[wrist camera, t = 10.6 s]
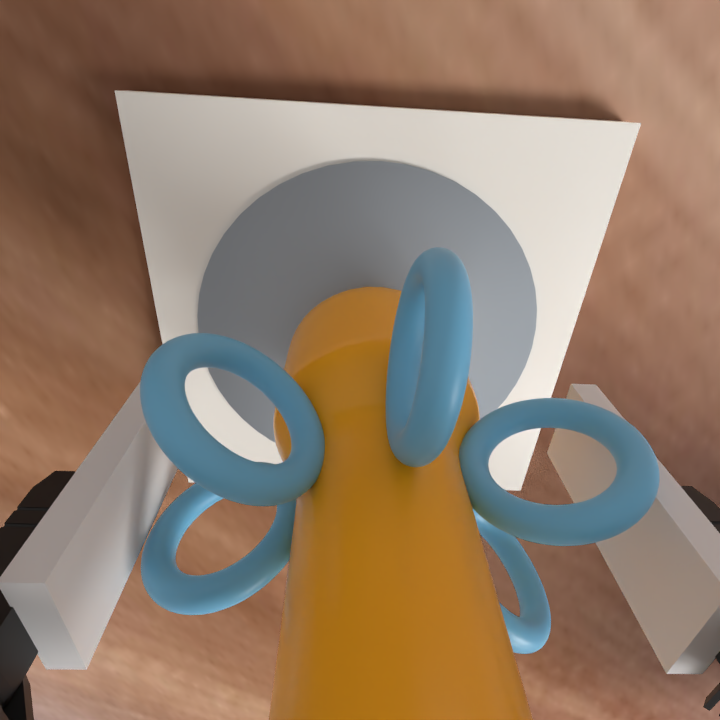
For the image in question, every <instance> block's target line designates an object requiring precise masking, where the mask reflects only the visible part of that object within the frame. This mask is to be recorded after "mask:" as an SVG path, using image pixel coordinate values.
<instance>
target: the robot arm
mask: <svg viewBox="0 0 720 720" xmlns="http://www.w3.org/2000/svg"><path fill="white" fill-rule="evenodd" d="M140 382H141V381H140ZM566 399H571V400H577V401H582V402H586V403H590V404H593V405H596V406H599V407H602V408H604V409H606V410H609V411H611V412H613V413H615V414H616V415H618V416H620V417H621V418H623V417H622V415H621V414H620V413H619V412H618V411H617V409H616V408H615V407H614V406H613V405H612V403H611V402H610V401H609V400H608V399H607V397H606V396H605V395H604V394H603V393H602V391H601V390H600V389H599V388H598V387H597V385H592V384H571V385H570V388H569V391H568V394H567V397H566ZM623 419H624V418H623ZM547 454H548V456H549V458H550V460H551V462H552V463H553V465H554V467H555V469H556V471H557V473H558V475H559V476H560V478H561V480H562V482H563V484H564V486H565V487H566V489H567V491H568V493H569V495H570V497H571V499H572V500H573V502H574V503H578V502H582V501H585V500H588V499H591V498H593V497H595V496H597V495H599V494H601V493H602V492H603V491H605V490H606V489H607V488H608V487H609V486H610V485H611V484H612V482H613V481H614V479H615V476H616V472H617V466H616V462H615V459H614V457H613V456H612V454H611V453H610V451H609V450H608V449H607V448H606V447H605V446H603V445H602V444H601V443H599V442H598V441H596V440H595V439H593V438H591V437H589V436H587V435H584V434H582V433H579V432H576V431H572V430H567V429H561V428H555V431H554V434H553V437H552V440H551V443H550V445H549V448H548V451H547ZM656 459H657V457H656ZM657 462H658V467H659V476H660V478H659V488H658V492H657V495H656V498H655V500H654V502H653V504H652V506H651V507H650V509H649V510H648V512H647V513H646V514H645V515H644V516H643V517H642V519H640V520H639V521H638V522H637V523H636V524H635V525H633V526H632V527H631V528H629V529H628V530H626V531H624V532H623V533H621V534H619V535H616V536H614V537H612V538H609V539H606V540H603V541H600V542H596V545H597V547H598V548H599V550H600V552H601V554H602V556H603V558H604V560H605V561H606V563H607V565H608V567H609V569H610V571H611V572H612V574H613V576H614V578H615V580H616V582H617V584H618V585H619V587H620V589H621V591H622V593H623V595H624V597H625V598H626V600H627V602H628V604H629V606H630V608H631V609H632V611H633V613H634V615H635V617H636V619H637V621H638V622H639V624H640V626H641V628H642V630H643V632H644V633H645V635H646V637H647V639H648V641H649V643H650V645H651V646H652V648H653V650H654V652H655V654H656V656H657V657H658V659H659V661H660V663H661V665H662V667H663V669H664V670H665V672H666V674H703V673H704V671H705V670H706V669H707V668H708V667H709V666H710V664H711V663H712V662H713V661H714V660H715V659H717V660H718V662H719V663H720V509H719V508H718V507H717V505H716V504H715V503H714V502H712V501H711V500H710V499H708V498H707V497H706V496H704V495H703V494H701V493H700V492H699V491H697V490H696V489H695V488H693V487H692V486H680V485H679V484H678V483H677V481H676V480H675V479H674V478H673V477H672V475H671V474H670V473H669V472H668V471H667V469H666V468H665V467H664V466H663V465H662V463H661V462H660V461H659V460H658V459H657ZM177 469H178V468H177V467H176V466H175V465H174V464H173V463H172V462H171V461H170V460H169V458H168V457H167V456H166V455H165V454H164V452H163V451H162V450H161V448H160V447H159V445H158V444H157V442H156V441H155V439H154V437H153V436H152V434H151V432H150V430H149V428H148V426H147V423H146V421H145V418H144V415H143V411H142V407H141V401H140V383H139V384H138V386H137V387H136V388H135V390H134V391H133V393H132V394H131V395H130V397H129V398H128V400H127V401H126V402H125V404H124V405H123V406H122V408H121V409H120V411H119V412H118V413H117V415H116V416H115V418H114V419H113V420H112V422H111V423H110V425H109V426H108V427H107V429H106V430H105V432H104V433H103V434H102V436H101V437H100V439H99V440H98V441H97V443H96V444H95V446H94V447H93V448H92V450H91V451H90V452H89V454H88V455H87V457H86V458H85V459H84V461H83V462H82V464H81V465H80V466H79V468H78V469H77V471H76V472H74V471H55V472H53V473H52V474H51V475H49V476H48V477H46V478H45V479H44V480H42V481H41V482H40V483H38V484H37V485H36V486H34V487H33V488H32V489H31V490H30V492H29V493H28V494H27V496H26V497H25V498H24V499H23V501H22V502H21V503H20V504H19V506H18V509H17V511H14V512H13V513H12V514H11V516H10V517H9V518H8V519H7V521H6V522H5V526H4V527H1V528H0V720H34V717H33V708H32V698H31V689H30V683H29V681H28V679H27V676H26V673H27V671H28V670H29V668H30V666H31V664H32V662H33V660H34V659H35V657H36V655H37V654H38V656H39V658H40V659H41V661H42V663H43V665H44V666H45V668H46V669H83V670H87V668H88V665H89V663H90V661H91V659H92V657H93V654H94V652H95V650H96V648H97V646H98V643H99V641H100V639H101V637H102V635H103V632H104V630H105V628H106V626H107V624H108V621H109V619H110V617H111V615H112V613H113V610H114V608H115V606H116V604H117V602H118V599H119V597H120V595H121V593H122V590H123V588H124V586H125V584H126V582H127V579H128V577H129V575H130V573H131V571H132V568H133V566H134V564H135V562H136V560H137V557H138V555H139V553H140V551H141V549H142V546H143V544H144V542H145V540H146V538H147V535H148V533H149V531H150V529H151V527H152V524H153V522H154V520H155V518H156V516H157V513H158V511H159V509H160V507H161V505H162V502H163V500H164V498H165V496H166V493H167V491H168V489H169V487H170V485H171V482H172V480H173V478H174V476H175V474H176V471H177ZM719 700H720V683H719V684H718V685H717V686H716V688H715V689H714V690H713V691H712V692H711V693H710V694H709V695H708V696H707V697H706V700H705V703H704V706H703V707H704V708H706V709H708V710H709V711H710V710H711V709H712V708H713V707H714V706H715V705H716V704H717V702H718V701H719ZM719 716H720V714H719Z"/></svg>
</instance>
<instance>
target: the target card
mask: <svg viewBox="0 0 720 720" xmlns="http://www.w3.org/2000/svg"><path fill="white" fill-rule="evenodd" d="M114 91H115V96H116V101H117V106H118V112H119V117H120V122H121V128H122V133H123V138H124V143H125V149H126V154H127V159H128V165H129V170H130V175H131V181H132V186H133V191H134V196H135V202H136V207H137V212H138V218H139V223H140V228H141V233H142V239H143V244H144V249H145V255H146V260H147V265H148V270H149V276H150V281H151V286H152V292H153V297H154V302H155V307H156V313H157V318H158V323H159V329H160V334H161V339H162V344H164V343H165V342H167V341H169V340H171V339H173V338H175V337H178V336H181V335H185V334H191V333H210V334H217V335H222V336H226V337H229V338H232V339H235V340H238V341H240V342H243V343H245V344H247V345H249V346H251V347H253V348H255V349H257V350H258V351H260V352H262V353H263V354H265V355H266V356H268V357H269V358H270V359H272V360H273V361H274V362H276V363H277V364H278V365H279V366H281V367H282V368H283V369H284V367H285V363H286V359H287V354H288V350H289V347H290V343H291V340H292V338H293V335H294V333H295V331H296V329H297V327H298V325H299V324H300V323H301V321H302V320H303V318H304V317H305V316H306V315H307V314H308V313H309V312H310V311H311V310H312V309H313V308H314V307H315V306H317V305H318V304H319V303H321V302H322V301H324V300H326V299H328V298H329V297H331V296H333V295H335V294H338V293H341V292H344V291H346V290H349V289H355V288H361V287H386V288H391V289H396V290H401V291H402V289H403V286H404V283H405V280H406V277H407V275H408V273H409V270H410V268H411V266H412V265H413V263H414V262H415V260H416V259H417V258H418V256H419V255H421V254H422V253H423V252H424V251H426V250H428V249H431V248H435V247H442V248H446V249H449V250H451V251H452V252H454V253H455V254H456V255H457V256H458V257H459V258H460V259H461V261H462V262H463V264H464V266H465V268H466V271H467V274H468V277H469V281H470V286H471V293H472V302H473V339H472V351H471V360H470V367H469V374H468V377H469V379H470V382H471V384H472V387H473V389H474V392H475V395H476V398H477V402H478V406H479V412H480V419H481V418H483V417H484V416H485V415H487V414H489V413H490V412H492V411H494V410H496V409H498V408H500V407H503V406H505V405H508V404H511V403H515V402H519V401H523V400H529V399H538V398H551V396H552V393H553V390H554V387H555V384H556V381H557V378H558V375H559V372H560V369H561V366H562V363H563V360H564V357H565V353H566V350H567V347H568V344H569V341H570V338H571V335H572V332H573V329H574V326H575V323H576V320H577V317H578V314H579V311H580V308H581V305H582V302H583V299H584V296H585V293H586V290H587V286H588V283H589V280H590V277H591V274H592V271H593V268H594V265H595V262H596V259H597V256H598V253H599V250H600V247H601V244H602V241H603V238H604V235H605V232H606V229H607V226H608V223H609V219H610V216H611V213H612V210H613V207H614V204H615V201H616V198H617V195H618V192H619V189H620V186H621V183H622V180H623V177H624V174H625V171H626V168H627V165H628V162H629V159H630V155H631V152H632V149H633V146H634V143H635V140H636V137H637V134H638V131H639V128H640V125H641V123H634V122H626V121H611V120H595V119H579V118H563V117H547V116H531V115H515V114H499V113H483V112H467V111H451V110H435V109H419V108H403V107H387V106H371V105H355V104H339V103H323V102H306V101H290V100H274V99H258V98H242V97H226V96H210V95H194V94H178V93H162V92H146V91H130V90H114ZM185 392H186V397H187V400H188V402H189V405H190V407H191V409H192V411H193V413H194V414H195V416H196V417H197V419H198V420H199V422H200V423H201V424H202V426H203V427H204V428H205V429H206V430H207V431H208V432H209V433H210V434H211V435H212V436H213V437H214V438H215V439H216V440H217V441H218V442H220V443H221V444H222V445H223V446H225V447H226V448H228V449H229V450H231V451H232V452H234V453H236V454H238V455H239V456H241V457H244V458H246V459H248V460H251V461H254V462H267V463H273V464H279V463H282V462H283V461H282V459H281V457H280V455H279V452H278V450H277V446H276V443H275V437H274V430H273V418H274V410H275V405H274V404H273V403H272V402H271V401H270V400H269V399H268V398H267V396H265V395H264V394H263V393H262V392H261V391H260V390H259V389H258V388H256V387H255V386H254V385H252V384H251V383H249V382H248V381H246V380H245V379H243V378H241V377H239V376H237V375H235V374H233V373H230V372H228V371H225V370H221V369H217V368H207V367H206V368H198V369H195V370H192V371H191V372H190V373H189V374H188V375H187V377H186V380H185ZM540 430H541V428H536V429H530V430H526V431H522V432H519V433H516V434H514V435H512V436H510V437H508V438H506V439H505V440H503V441H502V442H501V443H499V444H498V445H497V446H496V447H495V449H494V450H493V451H492V453H491V455H490V458H489V463H488V466H489V471H490V474H491V476H492V478H493V479H494V480H495V482H496V483H497V484H498V485H499V486H500V487H501V488H503V489H504V490H517V491H521V488H522V484H523V481H524V478H525V475H526V472H527V469H528V466H529V463H530V460H531V457H532V454H533V451H534V448H535V445H536V442H537V439H538V436H539V433H540ZM188 482H194V481H192V480H191V479H190V478H188ZM194 483H195V482H194Z"/></svg>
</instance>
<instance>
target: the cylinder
mask: <svg viewBox="0 0 720 720" xmlns="http://www.w3.org/2000/svg"><path fill="white" fill-rule="evenodd" d="M472 339H473V302H472V293H471V286H470V281H469V277H468V274H467V271H466V268H465V266H464V264H463V262H462V261H461V259H460V258H459V257H458V256H457V255H456V254H455V253H454V252H452V251H451V250H449V249H446V248H442V247H435V248H431V249H428V250H426V251H424V252H423V253H422V254H421V255H419V256H418V258H417V259H416V260H415V262H414V263H413V265H412V266H411V268H410V270H409V273H408V275H407V277H406V280H405V283H404V286H403V289H402V291H401V290H396V289H391V288H386V287H361V288H355V289H349V290H346V291H344V292H341V293H338V294H335V295H333V296H331V297H329V298H328V299H326V300H324V301H322V302H321V303H319V304H318V305H317V306H315V307H314V308H313V309H312V310H311V311H310V312H309V313H308V314H307V315H306V316H305V317H304V318H303V320H302V321H301V323H300V324H299V325H298V327H297V329H296V331H295V333H294V335H293V338H292V340H291V343H290V347H289V350H288V354H287V359H286V363H285V367H284V369H283V368H282V367H281V366H279V365H278V364H277V363H276V362H274V361H273V360H272V359H270V358H269V357H268V356H266V355H265V354H263V353H262V352H260V351H258V350H257V349H255V348H253V347H251V346H249V345H247V344H245V343H243V342H240V341H238V340H235V339H232V338H229V337H226V336H222V335H217V334H210V333H191V334H185V335H181V336H178V337H175V338H173V339H171V340H169V341H167V342H165V343H164V344H162V345H161V346H160V347H159V348H158V349H156V350H155V352H154V353H153V354H152V355H151V356H150V358H149V359H148V361H147V363H146V365H145V367H144V370H143V373H142V377H141V382H140V401H141V407H142V411H143V415H144V418H145V421H146V423H147V426H148V428H149V430H150V432H151V434H152V436H153V437H154V439H155V441H156V442H157V444H158V445H159V447H160V448H161V450H162V451H163V452H164V454H165V455H166V456H167V457H168V458H169V460H170V461H171V462H172V463H173V464H174V465H175V466H176V467H177V468H178V469H179V470H180V471H181V472H182V473H184V474H185V475H186V476H187V477H188V478H190V479H191V480H192V481H194V482H195V484H194V485H192V486H191V487H189V488H188V489H187V490H186V491H184V492H183V493H182V494H181V495H180V496H179V497H177V498H176V499H175V500H174V501H173V502H172V503H171V504H170V505H169V507H168V508H167V509H166V510H165V511H164V512H163V514H162V515H161V516H160V518H159V519H158V520H157V522H156V523H155V525H154V527H153V528H152V530H151V532H150V534H149V536H148V538H147V541H146V543H145V546H144V550H143V554H142V559H141V576H142V581H143V584H144V587H145V589H146V591H147V593H148V594H149V596H150V597H151V598H152V599H153V600H154V601H155V602H156V603H157V604H158V605H159V606H161V607H163V608H164V609H166V610H169V611H171V612H174V613H178V614H184V615H201V614H208V613H213V612H217V611H220V610H223V609H226V608H228V607H231V606H233V605H235V604H238V603H240V602H241V601H243V600H245V599H247V598H248V597H250V596H252V595H253V594H255V593H256V592H258V591H259V590H260V589H262V588H263V587H264V586H265V585H266V584H268V583H269V582H270V581H271V580H272V579H273V578H274V577H275V576H276V575H277V574H278V573H279V572H280V571H281V570H282V569H283V567H284V566H285V565H286V564H287V562H288V561H289V566H288V574H287V582H286V590H285V598H284V605H283V613H282V621H281V629H280V637H279V644H278V652H277V660H276V668H275V675H274V683H273V691H272V698H271V706H270V714H269V720H533V718H532V715H531V711H530V708H529V704H528V701H527V697H526V694H525V690H524V687H523V683H522V680H521V676H520V673H519V669H518V666H517V663H516V659H515V656H514V652H515V653H520V654H529V653H533V652H536V651H538V650H539V649H541V648H542V647H543V646H544V644H545V643H546V641H547V639H548V637H549V634H550V628H551V615H550V608H549V604H548V600H547V596H546V593H545V590H544V588H543V585H542V582H541V580H540V578H539V576H538V573H537V571H536V569H535V567H534V566H533V564H532V562H531V560H530V558H529V557H528V555H527V553H526V552H525V550H524V549H523V547H522V546H521V544H520V543H519V541H518V540H517V539H516V537H517V538H520V539H523V540H526V541H530V542H534V543H539V544H545V545H554V546H577V545H586V544H591V543H596V542H600V541H603V540H606V539H609V538H612V537H614V536H616V535H619V534H621V533H623V532H624V531H626V530H628V529H629V528H631V527H632V526H633V525H635V524H636V523H637V522H638V521H639V520H640V519H642V517H643V516H644V515H645V514H646V513H647V512H648V510H649V509H650V507H651V506H652V504H653V502H654V500H655V498H656V495H657V492H658V488H659V478H660V476H659V467H658V462H657V459H656V456H655V454H654V452H653V450H652V448H651V446H650V445H649V443H648V442H647V440H646V439H645V438H644V436H643V435H642V434H641V433H640V432H639V431H638V430H637V429H636V428H635V427H634V426H633V425H631V424H630V423H629V422H627V421H626V420H625V419H623V418H621V417H620V416H618V415H616V414H615V413H613V412H611V411H609V410H606V409H604V408H602V407H599V406H596V405H593V404H590V403H586V402H582V401H577V400H571V399H563V398H538V399H529V400H523V401H519V402H515V403H511V404H508V405H505V406H503V407H500V408H498V409H496V410H494V411H492V412H490V413H489V414H487V415H485V416H484V417H483V418H481V419H480V412H479V406H478V402H477V398H476V395H475V392H474V389H473V387H472V384H471V382H470V379H469V377H468V374H469V367H470V360H471V351H472ZM206 367H207V368H217V369H221V370H225V371H228V372H230V373H233V374H235V375H237V376H239V377H241V378H243V379H245V380H246V381H248V382H249V383H251V384H252V385H254V386H255V387H256V388H258V389H259V390H260V391H261V392H262V393H263V394H264V395H265V396H267V398H268V399H269V400H270V401H271V402H272V403H273V404H274V405H275V410H274V418H273V430H274V437H275V443H276V446H277V450H278V452H279V455H280V457H281V459H282V461H283V462H282V463H279V464H273V463H267V462H254V461H251V460H248V459H246V458H244V457H241V456H239V455H238V454H236V453H234V452H232V451H231V450H229V449H228V448H226V447H225V446H223V445H222V444H221V443H220V442H218V441H217V440H216V439H215V438H214V437H213V436H212V435H211V434H210V433H209V432H208V431H207V430H206V429H205V428H204V427H203V426H202V424H201V423H200V422H199V420H198V419H197V417H196V416H195V414H194V413H193V411H192V409H191V407H190V405H189V402H188V400H187V397H186V392H185V380H186V377H187V375H188V374H189V373H190V372H191V371H192V370H195V369H198V368H206ZM536 428H561V429H567V430H572V431H576V432H579V433H582V434H584V435H587V436H589V437H591V438H593V439H595V440H596V441H598V442H599V443H601V444H602V445H603V446H605V447H606V448H607V449H608V450H609V451H610V453H611V454H612V456H613V457H614V459H615V462H616V466H617V472H616V476H615V479H614V481H613V482H612V484H611V485H610V486H609V487H608V488H607V489H606V490H605V491H603V492H602V493H601V494H599V495H597V496H595V497H593V498H591V499H588V500H585V501H582V502H578V503H573V504H565V505H547V504H540V503H534V502H530V501H527V500H524V499H521V498H518V497H516V496H514V495H512V494H510V493H508V492H507V491H505V490H504V489H503V488H501V487H500V486H499V485H498V484H497V483H496V482H495V480H494V479H493V478H492V476H491V474H490V471H489V466H488V463H489V458H490V455H491V453H492V451H493V450H494V449H495V447H496V446H497V445H498V444H499V443H501V442H502V441H503V440H505V439H506V438H508V437H510V436H512V435H514V434H516V433H519V432H522V431H526V430H530V429H536ZM223 498H225V499H227V500H230V501H233V502H237V503H241V504H245V505H252V506H274V505H277V512H276V517H275V520H274V522H273V524H272V526H271V528H270V530H269V531H268V533H267V534H266V536H265V537H264V538H263V540H262V541H261V542H260V543H259V544H258V545H257V546H256V547H255V548H254V549H253V550H252V551H251V552H250V553H249V554H247V555H246V556H245V557H243V558H242V559H241V560H239V561H238V562H236V563H234V564H233V565H231V566H229V567H227V568H225V569H223V570H220V571H218V572H215V573H211V574H207V575H199V576H194V575H188V574H185V573H183V572H181V571H180V570H179V569H178V567H177V565H176V551H177V547H178V544H179V542H180V540H181V538H182V536H183V535H184V533H185V531H186V530H187V529H188V527H189V526H190V525H191V524H192V522H193V521H194V520H195V519H196V518H197V517H198V516H199V515H200V514H201V513H202V512H204V511H205V510H206V509H207V508H209V507H210V506H212V505H213V504H215V503H216V502H218V501H220V500H221V499H223ZM480 535H481V536H482V537H483V538H484V539H485V540H486V541H487V542H488V543H489V545H490V546H491V547H492V548H493V550H494V551H495V553H496V554H497V555H498V557H499V558H500V560H501V562H502V563H503V565H504V567H505V568H506V570H507V572H508V574H509V576H510V578H511V580H512V583H513V585H514V588H515V590H516V593H517V597H518V600H519V605H520V617H518V616H516V615H514V614H512V613H511V612H510V611H508V610H507V609H506V608H505V607H504V606H503V605H502V604H501V603H500V602H499V600H498V596H497V593H496V589H495V586H494V582H493V579H492V575H491V572H490V568H489V565H488V561H487V558H486V554H485V551H484V547H483V544H482V540H481V536H480Z"/></svg>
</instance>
